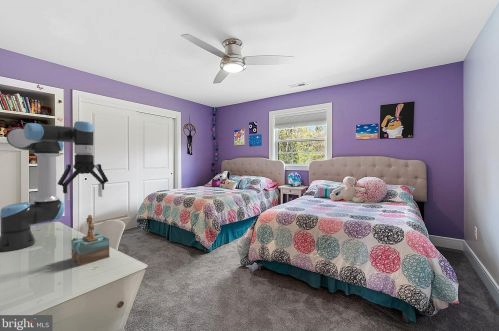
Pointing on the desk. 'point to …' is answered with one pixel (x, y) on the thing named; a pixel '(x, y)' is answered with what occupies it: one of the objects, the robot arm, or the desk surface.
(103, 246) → the teal and brown block
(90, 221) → the lever handle backplate
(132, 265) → the desk surface
